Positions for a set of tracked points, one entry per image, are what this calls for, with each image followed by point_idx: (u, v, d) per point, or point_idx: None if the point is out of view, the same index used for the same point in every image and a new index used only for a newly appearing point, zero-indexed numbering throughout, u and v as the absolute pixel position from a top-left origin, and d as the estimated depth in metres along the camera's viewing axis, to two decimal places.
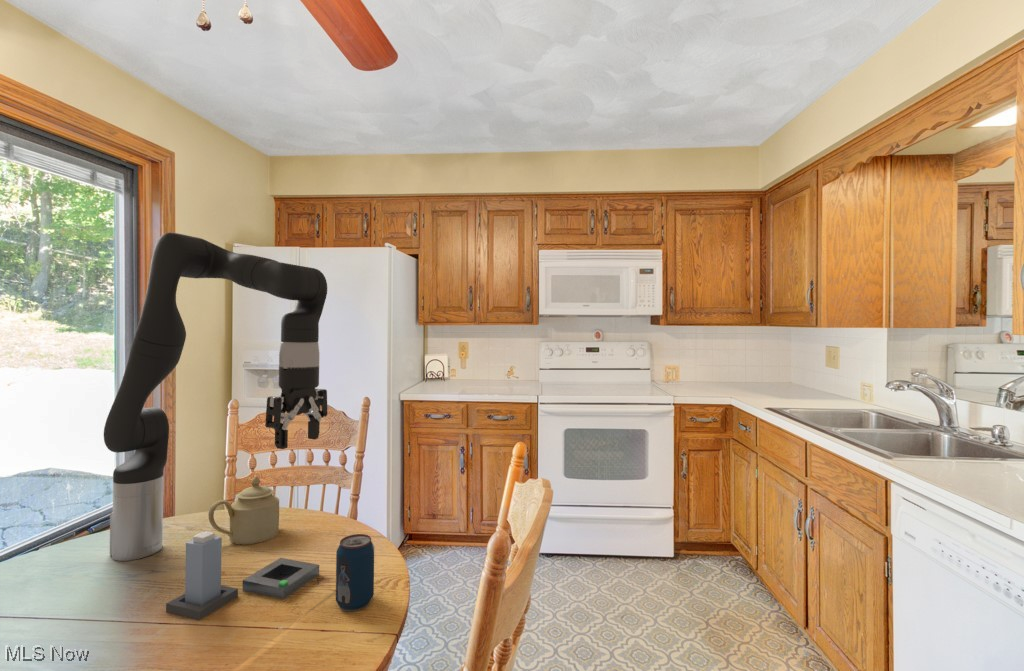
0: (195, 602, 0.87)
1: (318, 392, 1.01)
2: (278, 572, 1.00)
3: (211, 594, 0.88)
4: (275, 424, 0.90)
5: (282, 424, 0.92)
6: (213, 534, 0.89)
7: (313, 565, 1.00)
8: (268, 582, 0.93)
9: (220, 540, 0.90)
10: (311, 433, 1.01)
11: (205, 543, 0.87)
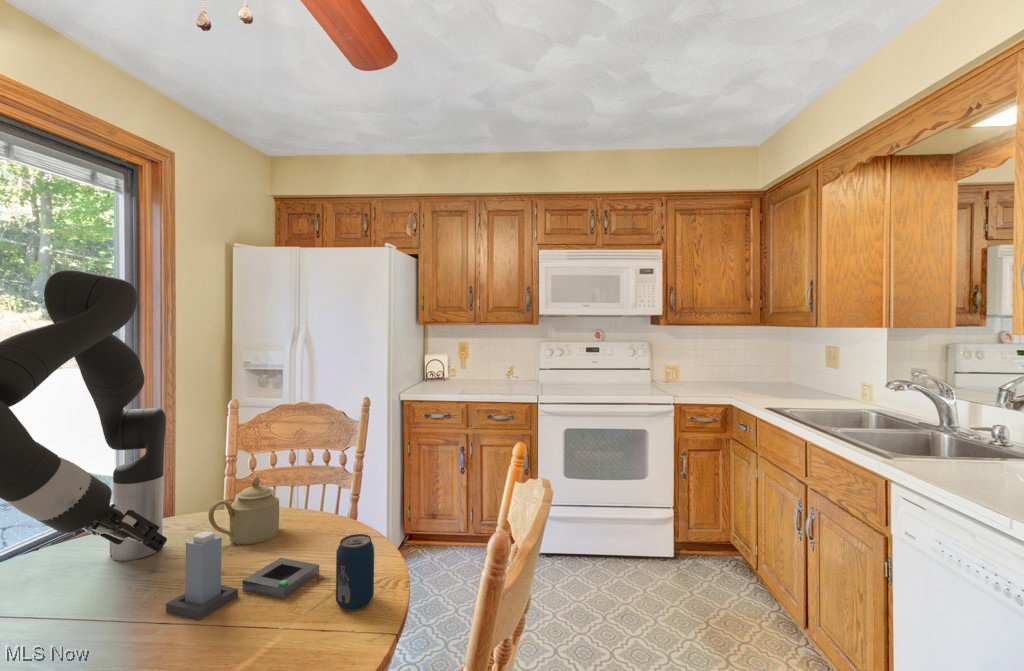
0: (195, 602, 0.87)
1: (117, 521, 0.69)
2: (278, 572, 1.00)
3: (211, 594, 0.88)
4: None
5: None
6: (213, 534, 0.89)
7: (313, 565, 1.00)
8: (268, 582, 0.93)
9: (220, 540, 0.90)
10: None
11: (205, 543, 0.87)
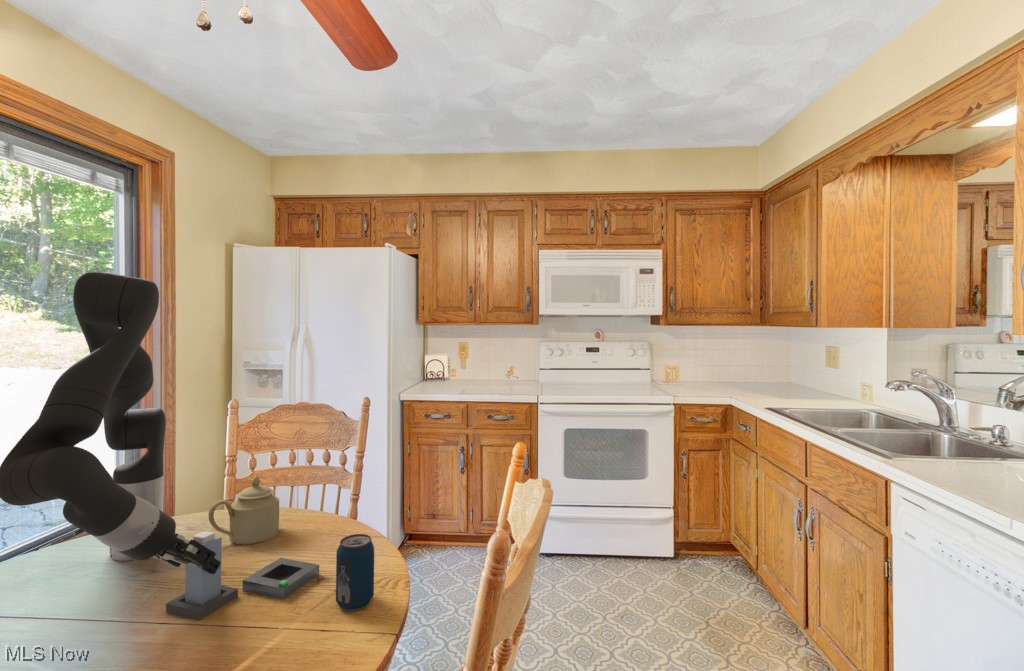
0: (195, 602, 0.87)
1: (182, 550, 0.79)
2: (278, 572, 1.00)
3: (211, 594, 0.88)
4: None
5: None
6: (213, 534, 0.89)
7: (313, 565, 1.00)
8: (268, 582, 0.93)
9: (220, 540, 0.90)
10: None
11: (205, 543, 0.87)
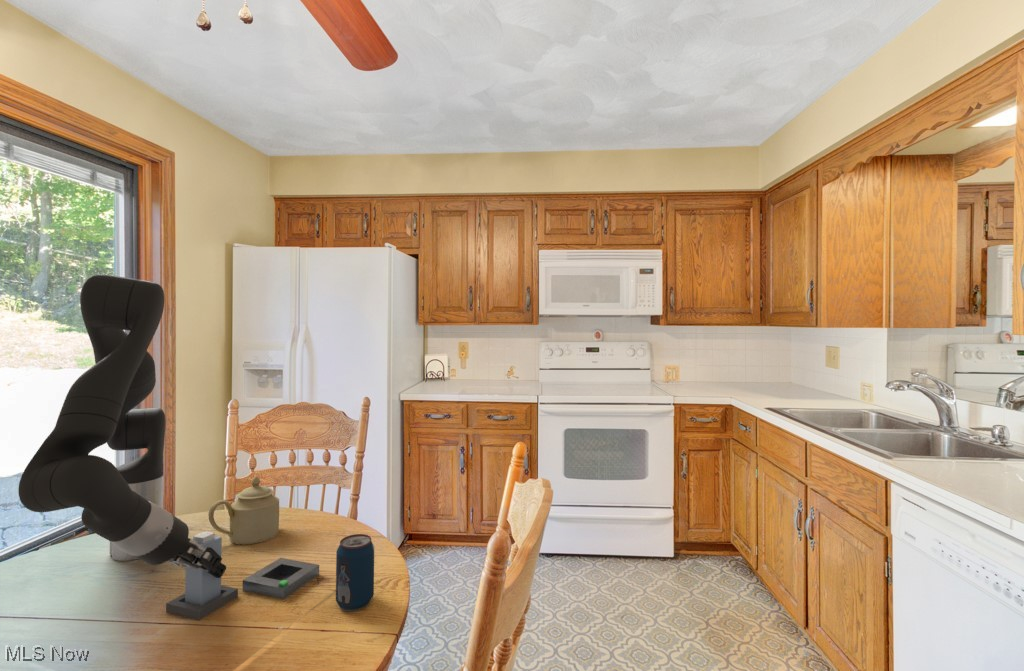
0: (195, 602, 0.87)
1: (197, 556, 0.82)
2: (278, 572, 1.00)
3: (211, 594, 0.88)
4: None
5: None
6: (213, 534, 0.89)
7: (313, 565, 1.00)
8: (268, 582, 0.93)
9: (220, 540, 0.90)
10: None
11: (205, 543, 0.87)
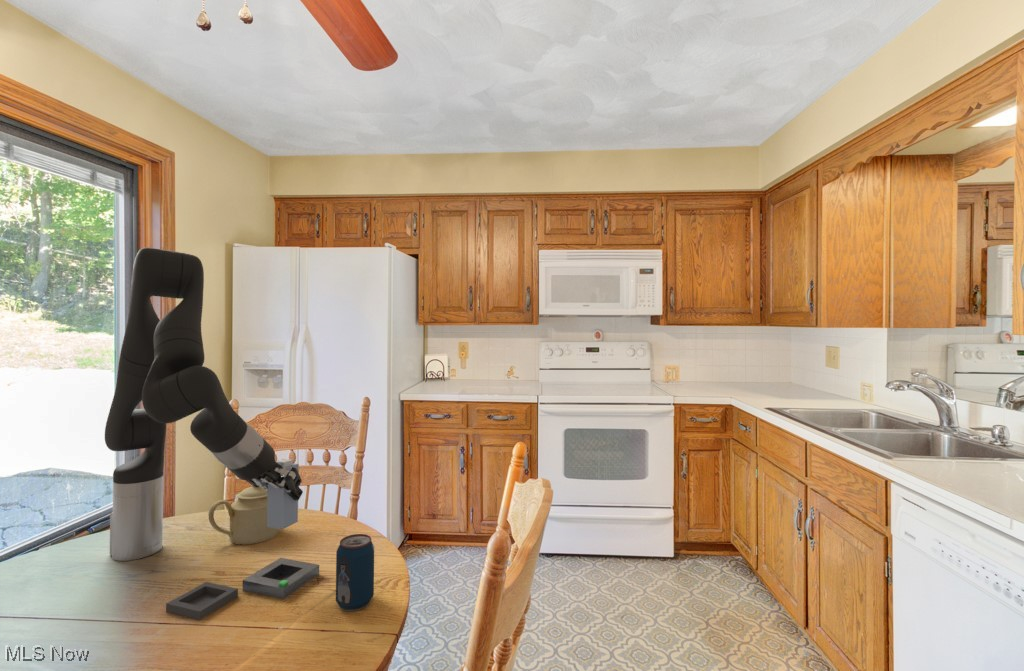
0: (277, 521, 0.95)
1: (283, 474, 0.90)
2: (278, 572, 1.00)
3: (291, 514, 0.96)
4: (253, 484, 0.96)
5: None
6: (291, 461, 0.98)
7: (313, 565, 1.00)
8: (268, 582, 0.93)
9: (297, 466, 0.98)
10: None
11: (286, 467, 0.95)
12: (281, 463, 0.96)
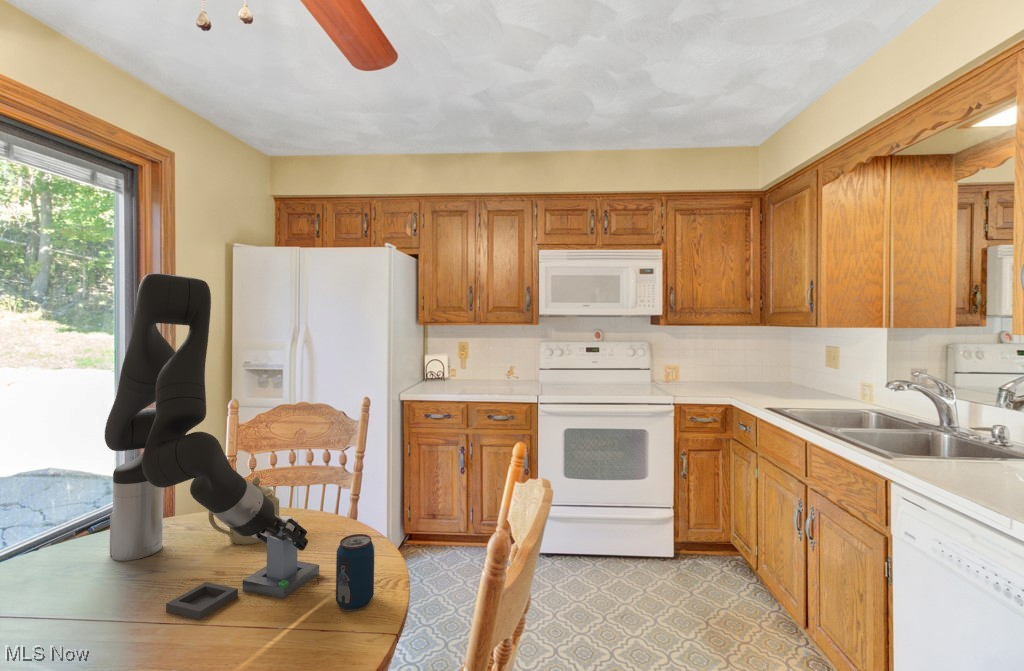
0: None
1: (281, 527, 0.90)
2: None
3: (290, 573, 0.96)
4: None
5: None
6: (290, 518, 0.98)
7: (313, 565, 1.00)
8: (268, 582, 0.93)
9: None
10: None
11: None
12: None
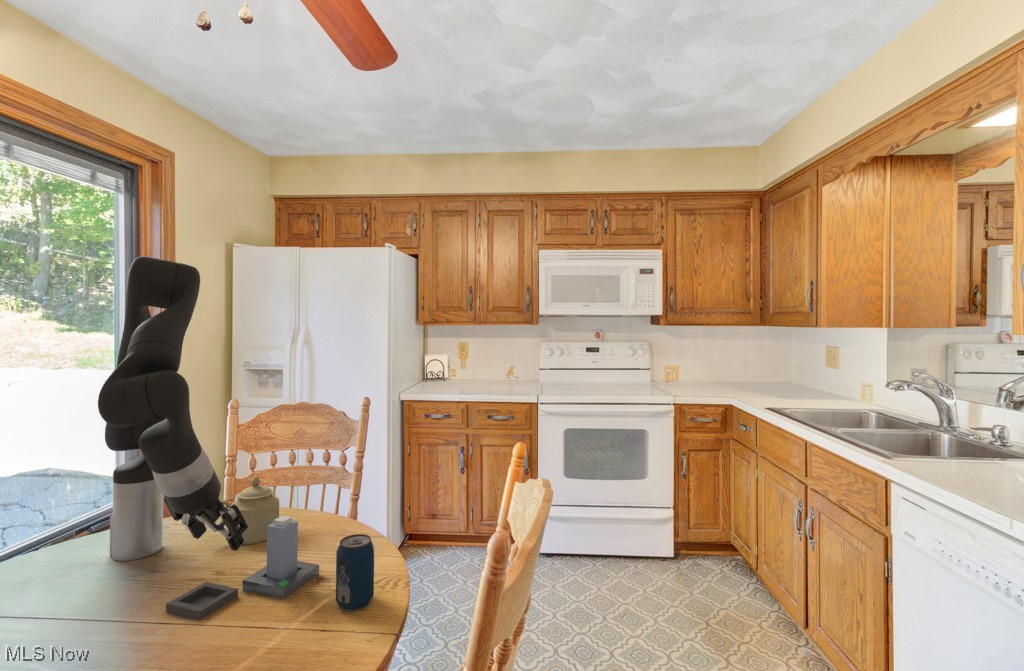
0: None
1: (222, 512, 0.79)
2: None
3: (290, 573, 0.96)
4: (173, 516, 0.84)
5: None
6: (291, 518, 0.98)
7: (313, 565, 1.00)
8: (268, 582, 0.93)
9: (297, 524, 0.98)
10: None
11: (285, 526, 0.95)
12: (280, 522, 0.96)
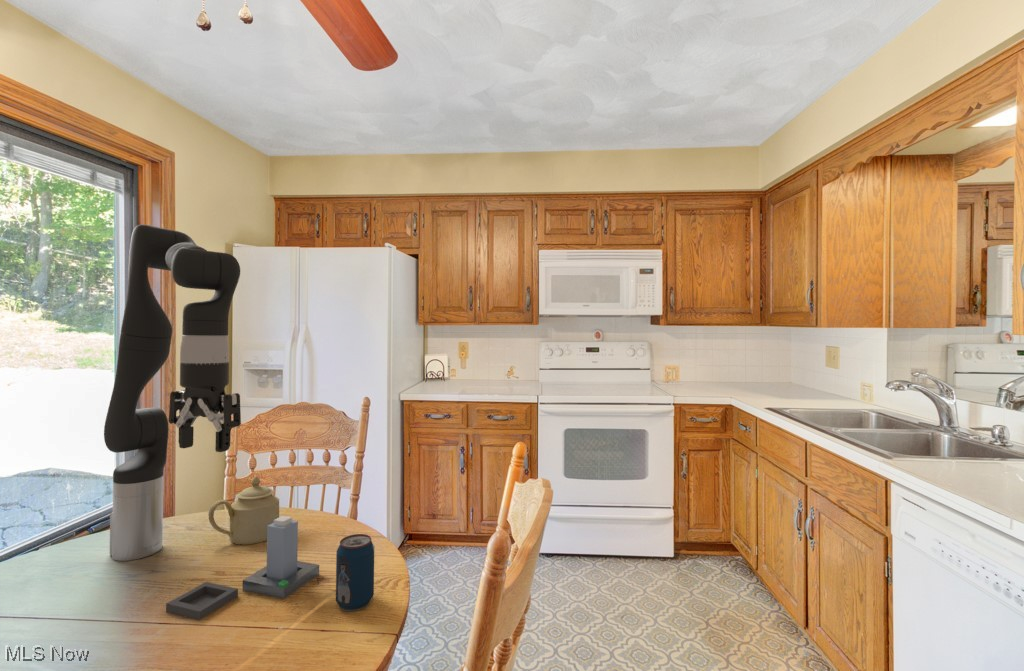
0: None
1: None
2: None
3: (290, 573, 0.96)
4: (169, 418, 0.87)
5: None
6: (291, 518, 0.98)
7: (313, 565, 1.00)
8: (268, 582, 0.93)
9: (297, 524, 0.98)
10: None
11: (285, 526, 0.95)
12: (280, 522, 0.96)
